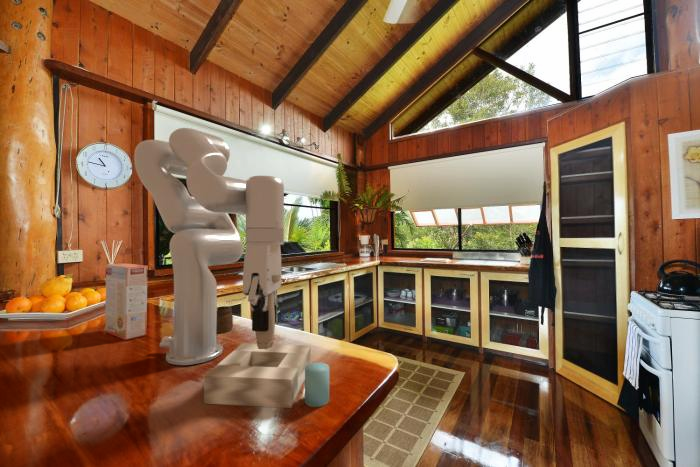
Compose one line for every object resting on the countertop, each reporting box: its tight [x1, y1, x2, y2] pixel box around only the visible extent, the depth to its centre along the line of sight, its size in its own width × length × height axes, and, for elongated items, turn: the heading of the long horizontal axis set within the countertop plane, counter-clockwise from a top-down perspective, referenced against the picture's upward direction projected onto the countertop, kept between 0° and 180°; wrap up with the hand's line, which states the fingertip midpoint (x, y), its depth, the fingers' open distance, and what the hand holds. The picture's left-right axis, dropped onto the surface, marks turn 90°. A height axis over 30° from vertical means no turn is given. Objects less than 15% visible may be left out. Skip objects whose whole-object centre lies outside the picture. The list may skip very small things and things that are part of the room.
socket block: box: [203, 342, 311, 409], centre depth 61 cm, size 16×16×5 cm
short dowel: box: [304, 361, 330, 408], centre depth 55 cm, size 4×4×6 cm
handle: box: [254, 273, 280, 349], centre depth 61 cm, size 5×6×15 cm
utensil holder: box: [216, 295, 234, 334], centre depth 94 cm, size 6×6×12 cm
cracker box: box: [104, 262, 149, 341], centre depth 90 cm, size 14×6×21 cm, turn 58°
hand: (264, 326), depth 61 cm, fingers closed on handle, 4 cm apart
